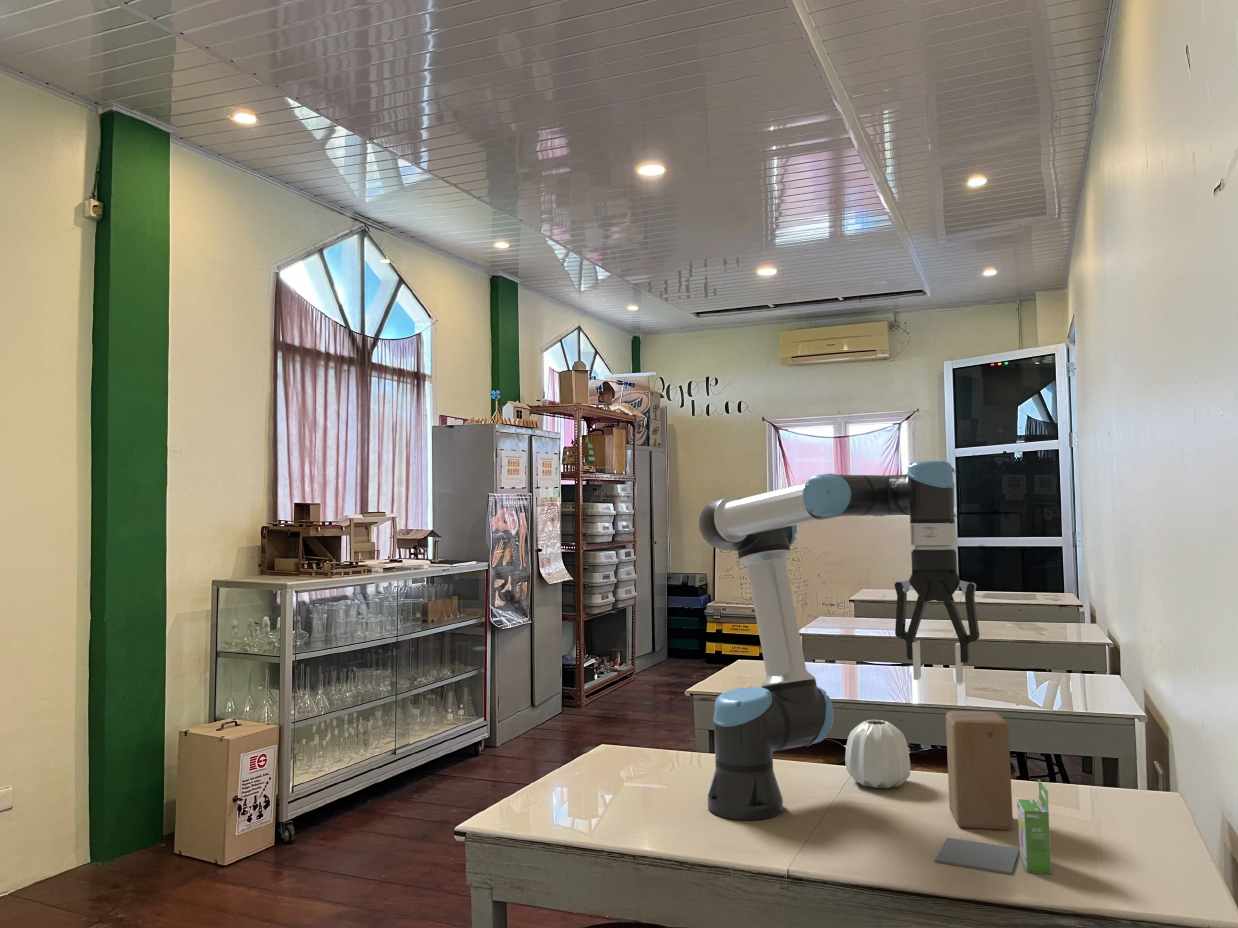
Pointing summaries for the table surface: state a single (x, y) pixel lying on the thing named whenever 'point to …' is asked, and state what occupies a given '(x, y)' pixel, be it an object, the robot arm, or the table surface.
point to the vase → (877, 755)
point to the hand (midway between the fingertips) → (938, 679)
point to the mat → (978, 855)
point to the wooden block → (979, 770)
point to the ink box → (1035, 833)
